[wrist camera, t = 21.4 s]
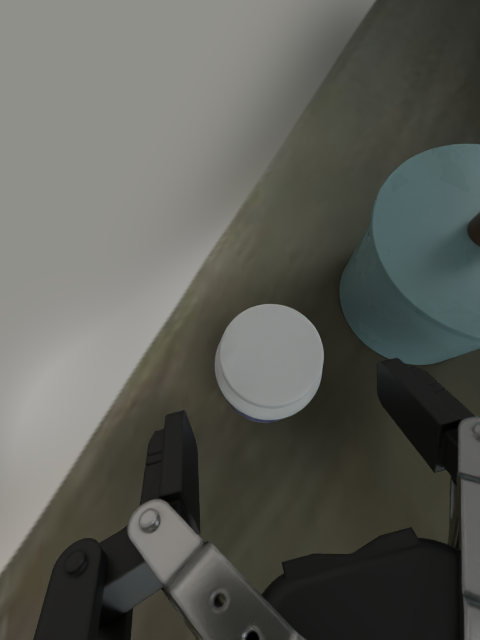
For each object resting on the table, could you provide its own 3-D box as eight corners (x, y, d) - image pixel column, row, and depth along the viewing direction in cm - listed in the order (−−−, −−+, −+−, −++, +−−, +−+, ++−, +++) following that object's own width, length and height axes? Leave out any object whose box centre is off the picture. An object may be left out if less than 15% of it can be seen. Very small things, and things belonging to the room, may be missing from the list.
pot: (422, 209, 28) (531, 70, 17) (521, 324, 25) (735, 243, 14) (304, 271, 27) (340, 164, 16) (392, 401, 23) (516, 381, 12)
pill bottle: (319, 389, 24) (364, 366, 14) (256, 440, 23) (259, 450, 13) (270, 328, 25) (281, 269, 16) (209, 373, 24) (181, 340, 15)
